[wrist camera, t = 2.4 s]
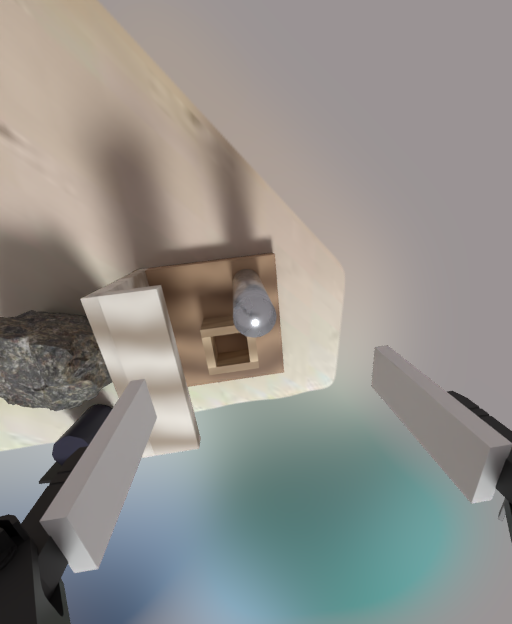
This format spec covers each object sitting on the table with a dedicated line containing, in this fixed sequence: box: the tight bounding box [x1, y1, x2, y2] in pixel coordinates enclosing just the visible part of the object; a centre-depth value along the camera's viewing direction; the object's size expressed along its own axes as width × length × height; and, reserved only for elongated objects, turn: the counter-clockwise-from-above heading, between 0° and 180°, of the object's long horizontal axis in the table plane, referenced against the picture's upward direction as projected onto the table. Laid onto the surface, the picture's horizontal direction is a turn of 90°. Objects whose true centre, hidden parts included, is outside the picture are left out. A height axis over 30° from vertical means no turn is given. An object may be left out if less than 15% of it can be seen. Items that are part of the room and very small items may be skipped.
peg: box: [233, 269, 276, 338], centre depth 28 cm, size 4×4×14 cm
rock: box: [0, 310, 112, 411], centre depth 34 cm, size 18×13×15 cm
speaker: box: [39, 404, 112, 484], centre depth 39 cm, size 8×6×10 cm
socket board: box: [80, 253, 284, 458], centre depth 32 cm, size 20×20×14 cm
